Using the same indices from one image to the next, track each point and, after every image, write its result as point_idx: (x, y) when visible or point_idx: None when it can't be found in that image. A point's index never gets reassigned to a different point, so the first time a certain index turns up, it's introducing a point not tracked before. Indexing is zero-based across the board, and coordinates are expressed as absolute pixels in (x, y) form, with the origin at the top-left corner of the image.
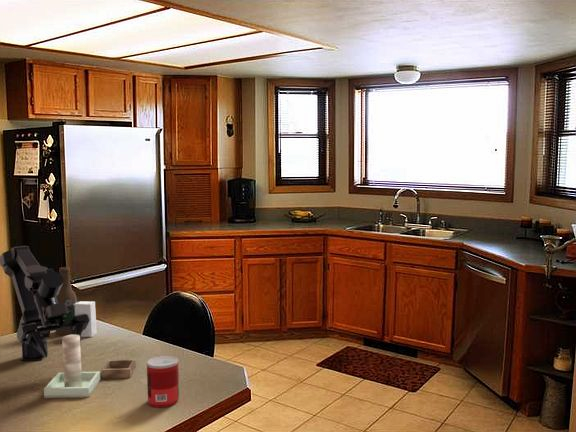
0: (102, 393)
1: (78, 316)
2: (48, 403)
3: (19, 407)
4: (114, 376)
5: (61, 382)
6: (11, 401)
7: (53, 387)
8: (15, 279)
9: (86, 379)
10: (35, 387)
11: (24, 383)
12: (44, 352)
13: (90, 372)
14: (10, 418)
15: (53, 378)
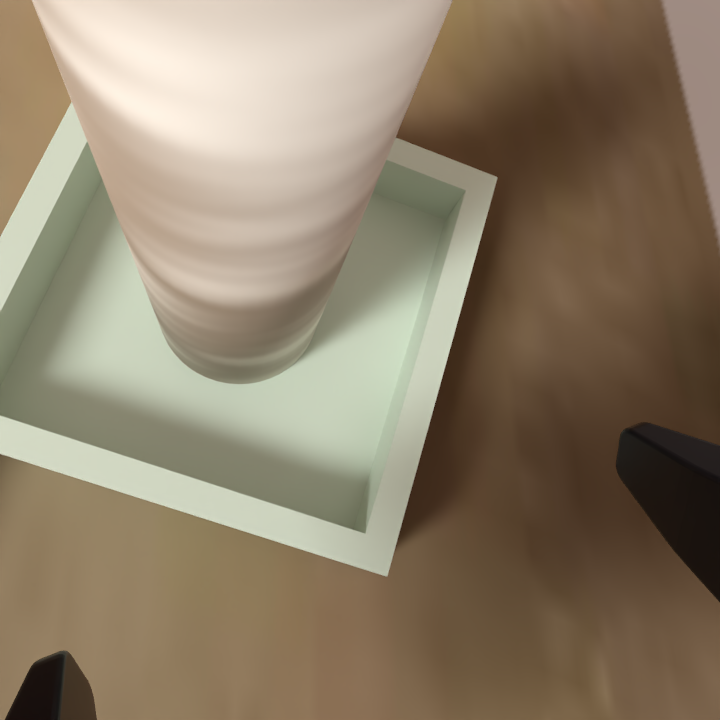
0: (2, 105)
1: None
2: (431, 112)
3: (612, 136)
4: None
5: (345, 456)
6: (683, 261)
7: (413, 333)
8: None
9: (96, 444)
10: (558, 481)
11: (664, 624)
12: (701, 440)
13: (26, 433)
14: (634, 5)
15: (431, 405)
